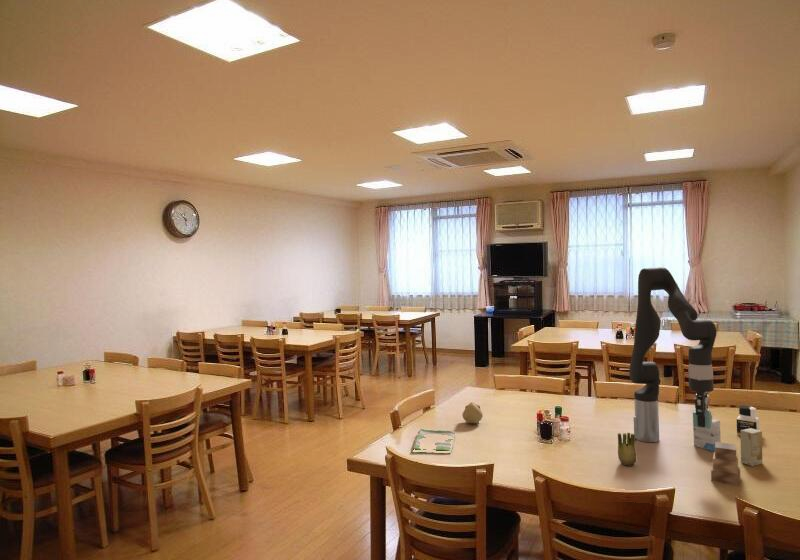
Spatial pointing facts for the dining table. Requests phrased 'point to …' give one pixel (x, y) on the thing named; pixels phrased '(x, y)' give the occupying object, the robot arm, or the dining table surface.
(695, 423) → the cube
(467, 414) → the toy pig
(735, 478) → the tower base
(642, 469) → the dining table surface
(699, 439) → the ink box
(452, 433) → the green white rectangular tray
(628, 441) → the fennel bulb
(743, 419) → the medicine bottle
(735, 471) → the tower mid
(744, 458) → the skincare box
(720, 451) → the tower top
